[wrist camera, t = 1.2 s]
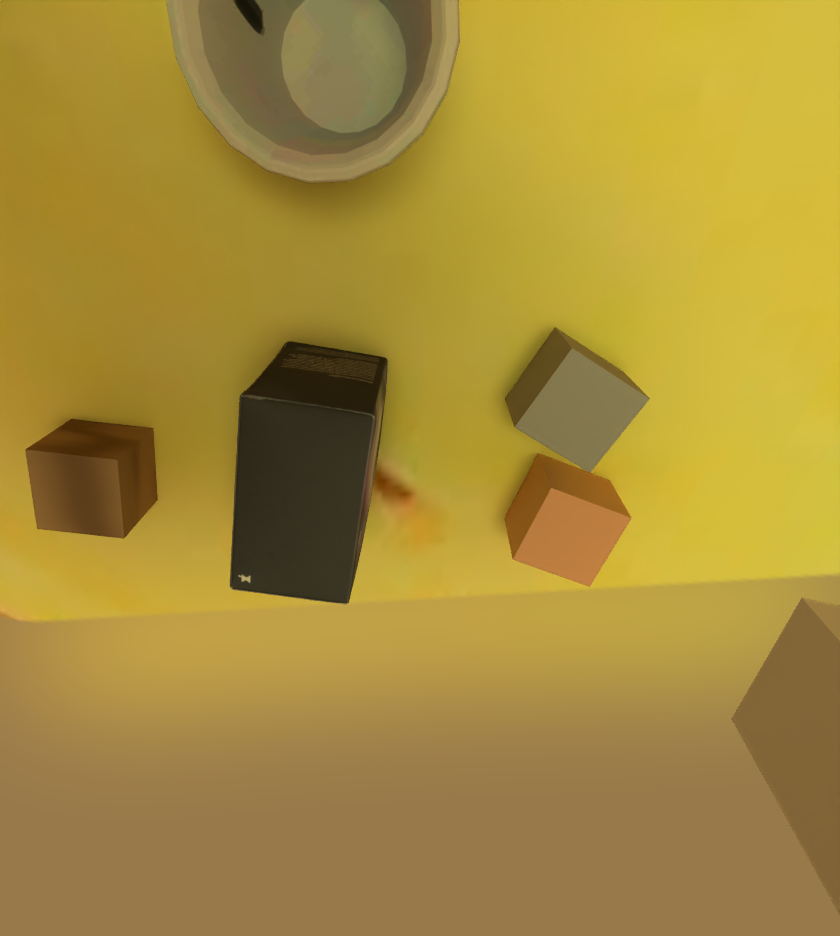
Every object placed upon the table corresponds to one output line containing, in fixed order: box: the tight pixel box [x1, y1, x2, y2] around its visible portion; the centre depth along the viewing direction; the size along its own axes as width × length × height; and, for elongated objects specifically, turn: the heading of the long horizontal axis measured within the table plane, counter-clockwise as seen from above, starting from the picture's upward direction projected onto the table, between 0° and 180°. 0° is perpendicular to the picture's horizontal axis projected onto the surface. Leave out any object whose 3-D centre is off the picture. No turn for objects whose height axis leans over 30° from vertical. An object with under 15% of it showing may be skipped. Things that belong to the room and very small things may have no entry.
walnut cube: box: [26, 419, 157, 538], centre depth 39 cm, size 5×5×5 cm
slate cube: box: [505, 328, 650, 473], centre depth 36 cm, size 5×5×5 cm
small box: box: [230, 342, 388, 604], centre depth 35 cm, size 11×6×10 cm, turn 171°
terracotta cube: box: [505, 453, 631, 587], centre depth 39 cm, size 5×5×5 cm
